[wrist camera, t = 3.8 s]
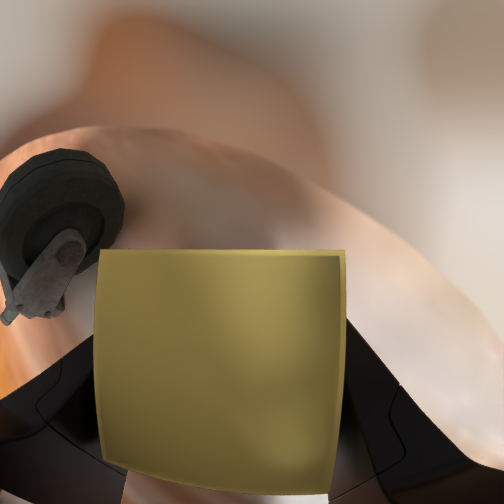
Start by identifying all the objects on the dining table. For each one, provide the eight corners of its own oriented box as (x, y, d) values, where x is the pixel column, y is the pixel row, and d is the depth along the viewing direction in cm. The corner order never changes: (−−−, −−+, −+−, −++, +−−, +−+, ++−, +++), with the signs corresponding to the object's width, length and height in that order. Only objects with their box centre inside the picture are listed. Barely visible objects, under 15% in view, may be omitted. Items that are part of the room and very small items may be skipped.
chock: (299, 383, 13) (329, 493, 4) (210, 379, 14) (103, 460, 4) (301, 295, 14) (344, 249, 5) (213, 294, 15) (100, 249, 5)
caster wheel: (124, 186, 20) (12, 297, 18) (63, 106, 11) (-67, 270, 8) (158, 236, 19) (33, 351, 16) (89, 157, 10) (-57, 342, 7)
